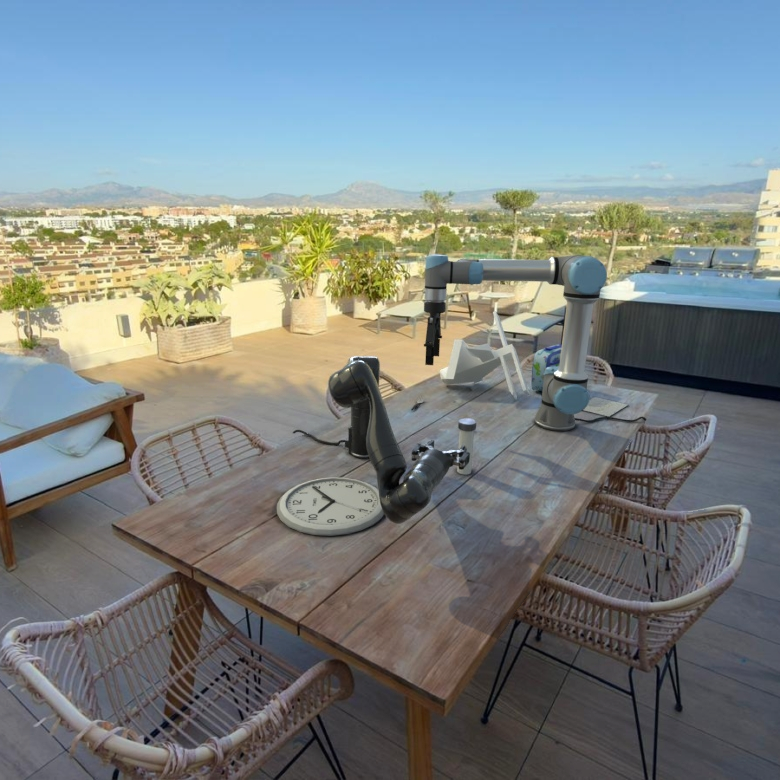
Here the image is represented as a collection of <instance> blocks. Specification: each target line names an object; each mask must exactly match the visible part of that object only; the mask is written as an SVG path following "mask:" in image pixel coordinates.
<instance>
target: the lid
mask: <svg viewBox="0 0 780 780" xmlns="http://www.w3.org/2000/svg"><path fill="white" fill-rule="evenodd" d="M457 428H458V430H459V431H460V430H462V431H474V432H475V430H477V420H475V419H473V418H467V417H466V418H460V419H459V420H458V424H457Z"/></svg>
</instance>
